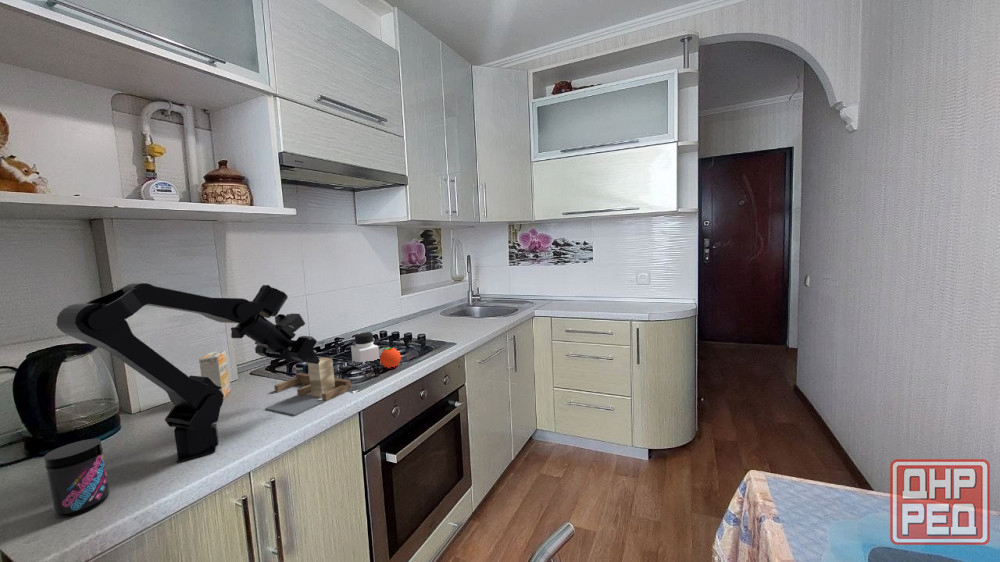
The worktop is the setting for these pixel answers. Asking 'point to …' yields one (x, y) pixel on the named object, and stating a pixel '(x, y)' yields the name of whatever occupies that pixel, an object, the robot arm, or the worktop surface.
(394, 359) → the clementine
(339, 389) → the lane rack
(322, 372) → the beech block
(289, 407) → the rubber mat
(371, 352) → the medicine bottle
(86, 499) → the supplement container
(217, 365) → the supplement box
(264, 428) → the worktop surface
